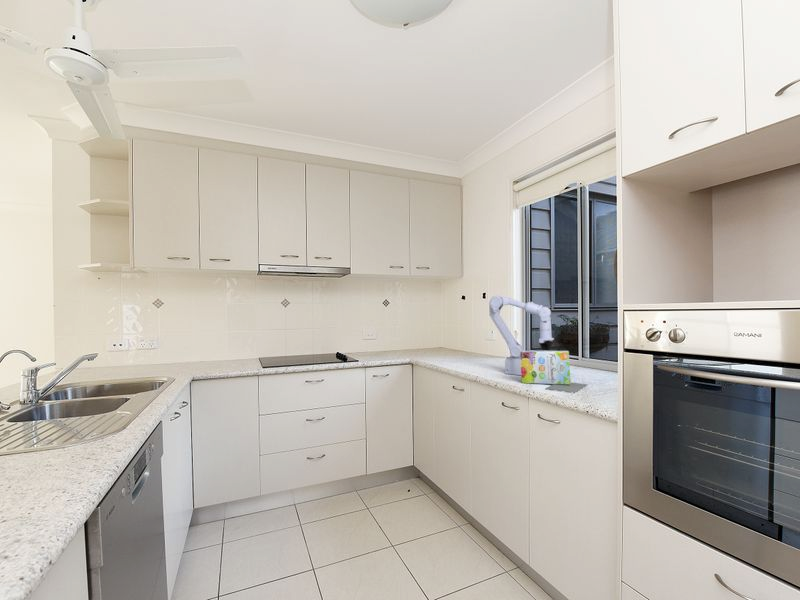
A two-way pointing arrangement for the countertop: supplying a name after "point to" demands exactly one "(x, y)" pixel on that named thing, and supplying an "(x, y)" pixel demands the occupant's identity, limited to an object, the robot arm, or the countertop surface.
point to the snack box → (545, 367)
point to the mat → (567, 387)
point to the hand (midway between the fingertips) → (546, 355)
